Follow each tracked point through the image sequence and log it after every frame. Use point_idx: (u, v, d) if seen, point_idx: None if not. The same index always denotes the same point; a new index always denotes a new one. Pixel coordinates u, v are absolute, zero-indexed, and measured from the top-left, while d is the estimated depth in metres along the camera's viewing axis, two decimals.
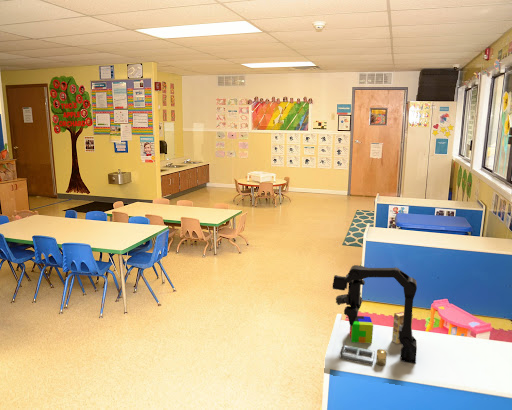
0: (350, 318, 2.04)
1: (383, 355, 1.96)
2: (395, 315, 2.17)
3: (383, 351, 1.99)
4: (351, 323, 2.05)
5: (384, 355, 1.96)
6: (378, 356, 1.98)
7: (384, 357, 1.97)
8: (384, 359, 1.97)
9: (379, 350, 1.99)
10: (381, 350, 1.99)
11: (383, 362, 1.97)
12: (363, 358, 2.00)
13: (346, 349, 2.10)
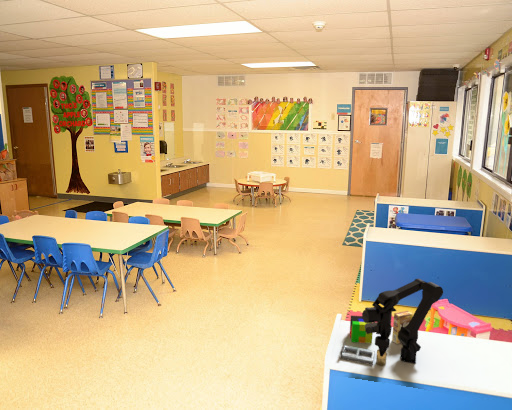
0: (381, 349, 1.92)
1: (383, 355, 1.96)
2: (395, 315, 2.17)
3: None
4: (382, 354, 1.93)
5: (384, 355, 1.96)
6: (378, 356, 1.98)
7: (384, 357, 1.97)
8: (384, 359, 1.97)
9: None
10: None
11: (383, 362, 1.97)
12: (363, 358, 2.00)
13: (346, 349, 2.10)
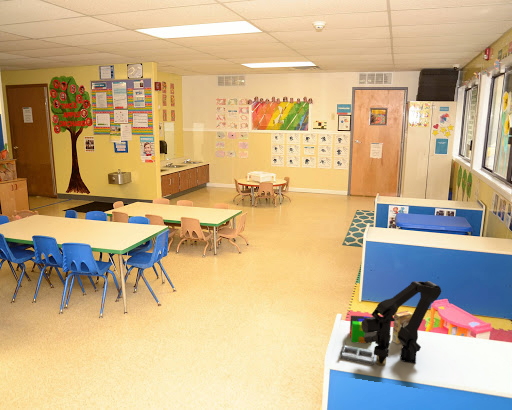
0: (380, 356, 1.95)
1: None
2: (395, 315, 2.17)
3: None
4: (381, 361, 1.96)
5: None
6: None
7: None
8: None
9: None
10: None
11: (383, 362, 1.97)
12: (363, 358, 2.00)
13: (346, 349, 2.10)
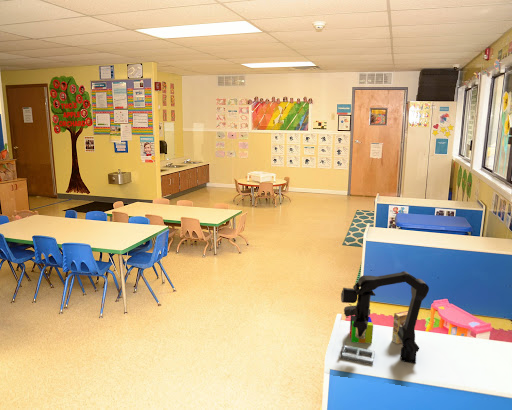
0: (359, 329, 1.98)
1: None
2: (395, 315, 2.17)
3: None
4: (360, 334, 1.99)
5: None
6: (357, 329, 2.00)
7: None
8: None
9: None
10: None
11: (362, 335, 1.99)
12: (363, 358, 2.00)
13: (346, 349, 2.10)
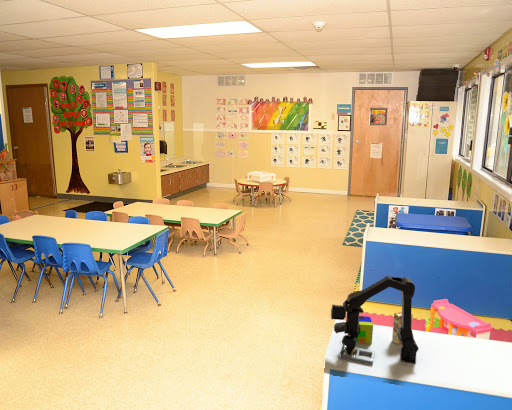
0: (348, 347, 2.00)
1: None
2: (395, 315, 2.17)
3: None
4: (349, 352, 2.01)
5: None
6: None
7: (353, 349, 2.04)
8: (353, 350, 2.04)
9: None
10: None
11: (352, 353, 2.04)
12: (363, 358, 2.00)
13: None
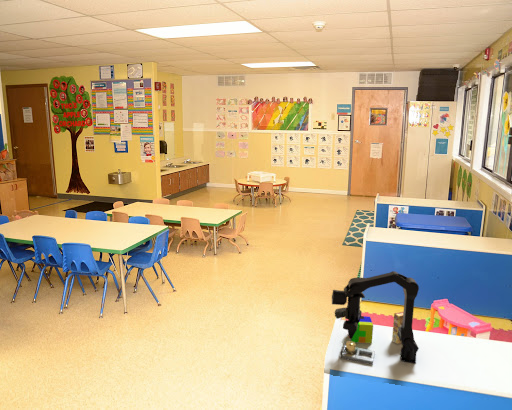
0: (350, 331, 2.00)
1: (352, 347, 2.03)
2: (395, 315, 2.17)
3: (352, 343, 2.05)
4: (351, 336, 2.01)
5: (353, 347, 2.03)
6: (347, 348, 2.04)
7: (353, 348, 2.04)
8: (353, 350, 2.04)
9: (348, 342, 2.06)
10: (350, 342, 2.06)
11: (352, 353, 2.04)
12: (363, 358, 2.00)
13: None
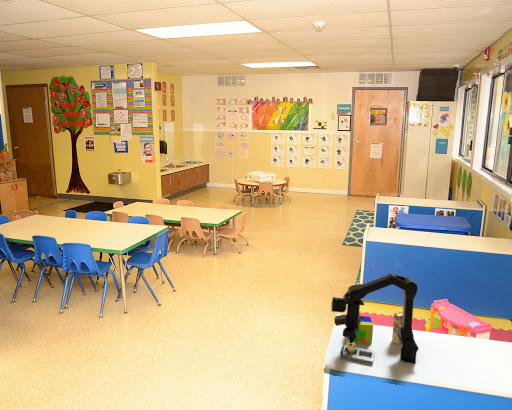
0: None
1: (352, 346, 2.03)
2: (395, 315, 2.17)
3: (352, 343, 2.05)
4: (351, 340, 2.04)
5: (353, 346, 2.03)
6: (347, 348, 2.04)
7: (353, 348, 2.04)
8: (353, 350, 2.04)
9: (348, 342, 2.06)
10: None
11: (352, 353, 2.04)
12: (363, 358, 2.00)
13: None
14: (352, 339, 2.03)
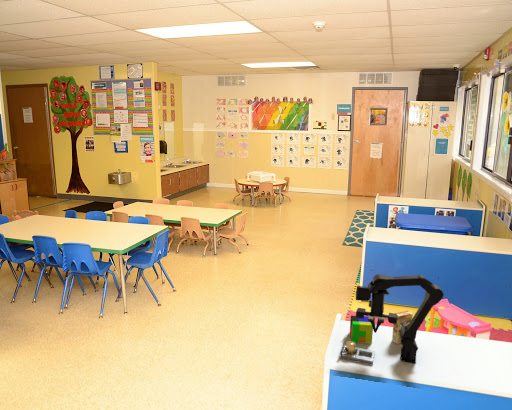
0: None
1: (352, 346, 2.03)
2: None
3: (352, 343, 2.05)
4: None
5: (353, 346, 2.03)
6: (347, 348, 2.04)
7: (353, 348, 2.04)
8: (353, 350, 2.04)
9: (348, 342, 2.06)
10: (350, 342, 2.06)
11: (352, 353, 2.04)
12: (363, 358, 2.00)
13: None
14: (373, 327, 2.03)
